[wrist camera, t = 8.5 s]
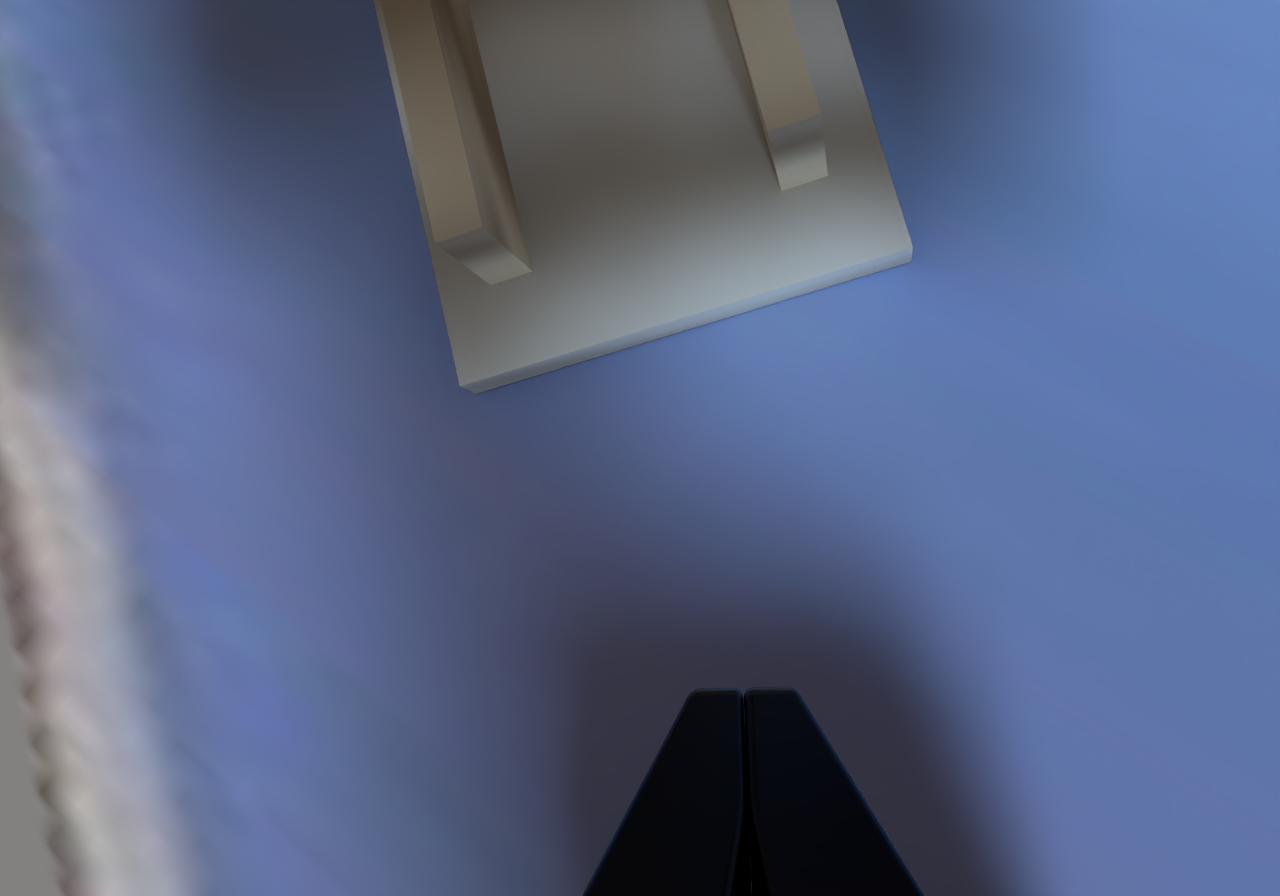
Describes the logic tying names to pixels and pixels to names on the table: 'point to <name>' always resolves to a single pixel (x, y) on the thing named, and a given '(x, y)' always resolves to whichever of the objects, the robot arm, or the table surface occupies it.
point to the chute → (632, 168)
